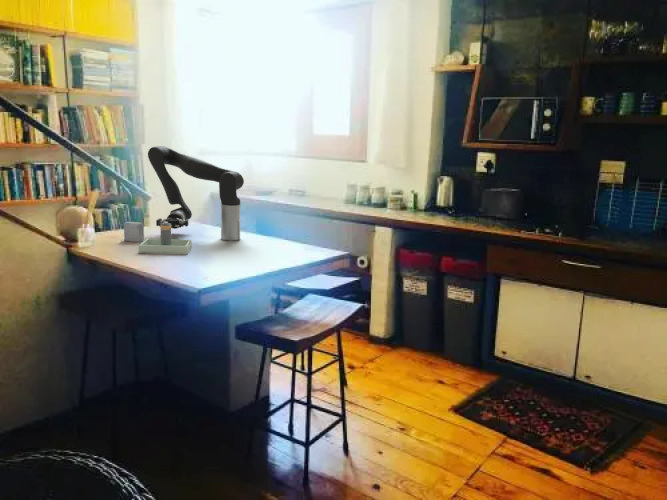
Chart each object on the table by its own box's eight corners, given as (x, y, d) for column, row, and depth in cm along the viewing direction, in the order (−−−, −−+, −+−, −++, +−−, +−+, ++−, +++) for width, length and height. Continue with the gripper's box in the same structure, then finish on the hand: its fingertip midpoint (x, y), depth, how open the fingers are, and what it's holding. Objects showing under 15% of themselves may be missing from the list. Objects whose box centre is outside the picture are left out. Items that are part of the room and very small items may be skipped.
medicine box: (144, 240, 265) (143, 222, 263) (138, 242, 261) (138, 224, 259) (129, 239, 267) (129, 221, 265) (124, 240, 263) (123, 222, 261)
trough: (191, 247, 256) (191, 239, 255) (187, 254, 241) (186, 246, 240) (146, 246, 253) (146, 238, 253) (138, 253, 239) (138, 245, 238)
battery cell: (172, 247, 250) (171, 221, 247) (170, 249, 245) (170, 222, 243) (161, 247, 249) (161, 221, 247) (159, 249, 245) (159, 222, 242)
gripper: (160, 211, 270) (154, 216, 254) (190, 212, 271) (186, 217, 256) (160, 226, 271) (154, 232, 255) (190, 227, 273) (186, 233, 257)
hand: (170, 225), depth 256 cm, fingers open, 8 cm apart
